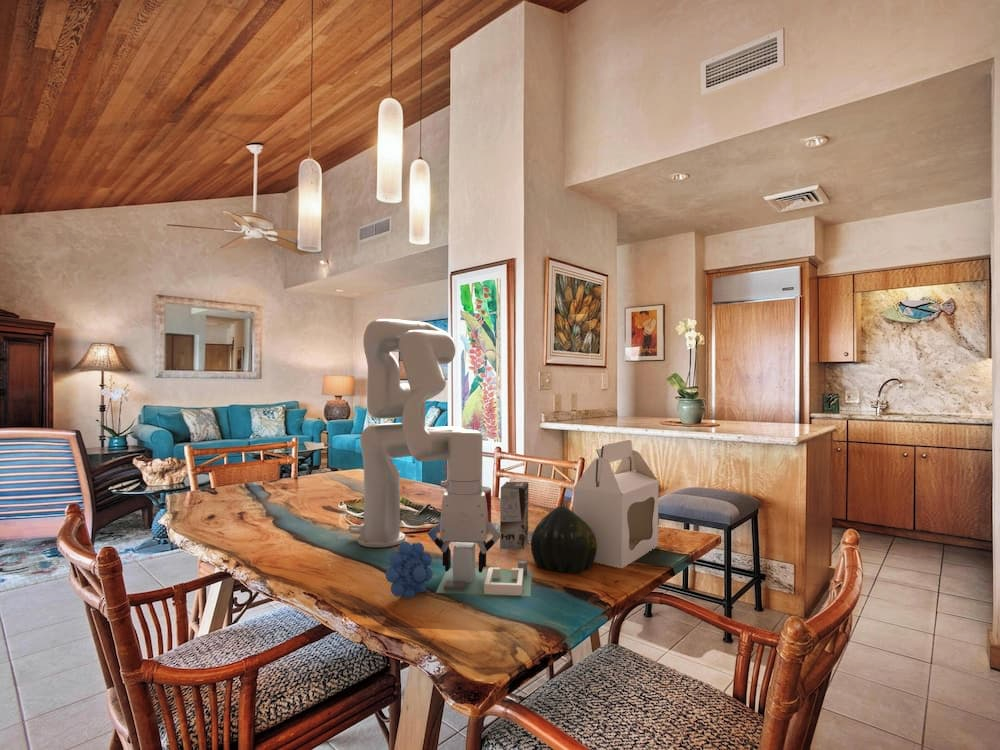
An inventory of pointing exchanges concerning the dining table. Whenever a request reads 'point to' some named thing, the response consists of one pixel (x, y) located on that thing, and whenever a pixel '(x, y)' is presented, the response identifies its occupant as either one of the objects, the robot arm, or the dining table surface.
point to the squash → (563, 542)
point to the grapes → (409, 570)
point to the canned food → (488, 500)
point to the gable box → (619, 505)
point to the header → (503, 587)
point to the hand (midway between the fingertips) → (464, 569)
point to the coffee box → (514, 515)
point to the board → (479, 580)
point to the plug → (463, 561)
